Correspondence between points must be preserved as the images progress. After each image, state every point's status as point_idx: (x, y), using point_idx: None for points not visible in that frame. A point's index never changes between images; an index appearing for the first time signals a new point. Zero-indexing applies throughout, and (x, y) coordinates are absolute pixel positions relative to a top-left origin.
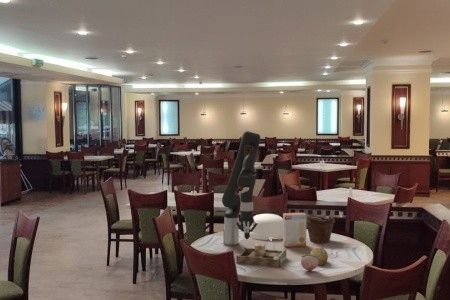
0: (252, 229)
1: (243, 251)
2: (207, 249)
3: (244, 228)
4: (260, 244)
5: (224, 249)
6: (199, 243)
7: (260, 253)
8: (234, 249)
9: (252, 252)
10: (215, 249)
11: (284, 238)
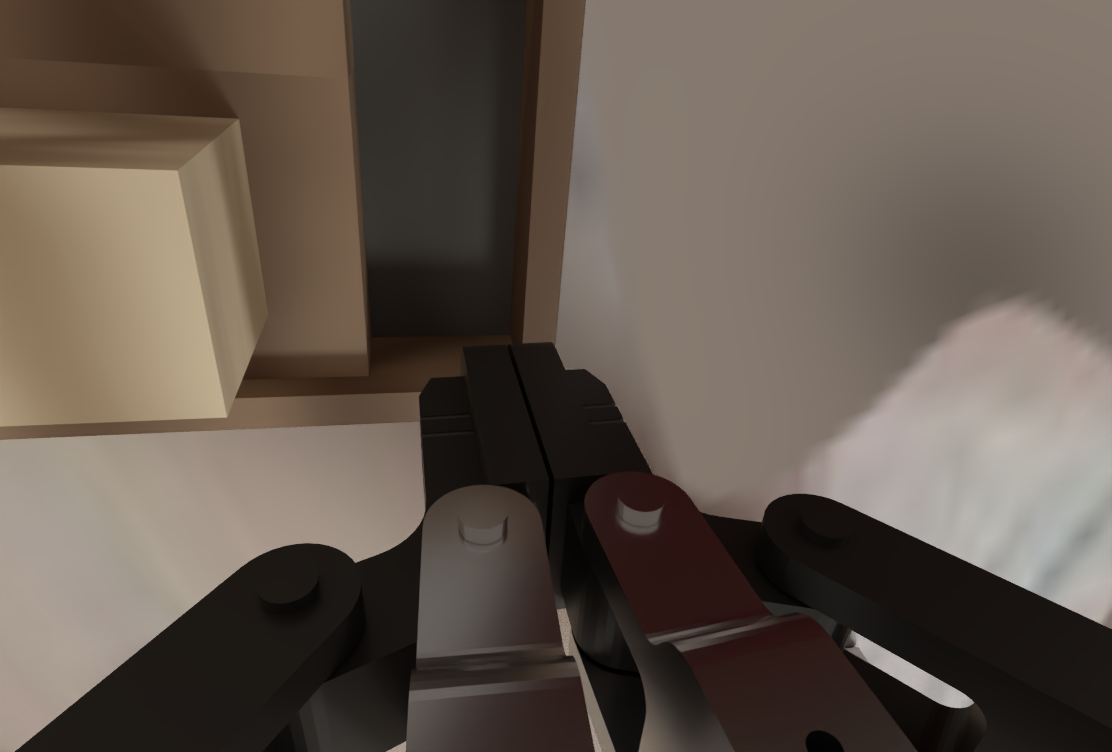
0: (142, 707)
1: (548, 261)
2: (1062, 407)
3: (759, 627)
4: (61, 355)
5: (848, 475)
6: (1105, 573)
7: (54, 113)
8: (719, 516)
9: (340, 243)
10: (962, 439)
11: None
